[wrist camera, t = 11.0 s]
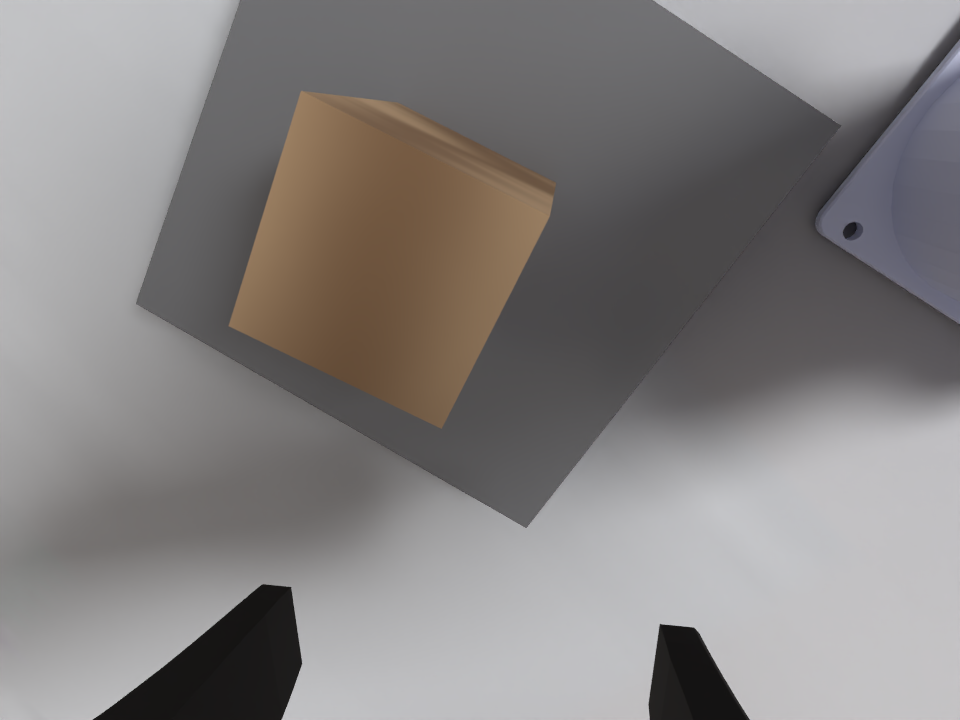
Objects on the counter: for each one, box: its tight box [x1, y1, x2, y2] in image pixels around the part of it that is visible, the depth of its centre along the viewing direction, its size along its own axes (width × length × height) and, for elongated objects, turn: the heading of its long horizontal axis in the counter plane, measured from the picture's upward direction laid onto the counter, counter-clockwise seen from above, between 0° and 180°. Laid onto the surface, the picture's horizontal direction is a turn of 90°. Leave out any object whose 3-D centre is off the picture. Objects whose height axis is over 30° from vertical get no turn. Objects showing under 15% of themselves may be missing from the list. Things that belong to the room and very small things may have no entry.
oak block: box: [229, 91, 556, 429], centre depth 13 cm, size 4×4×6 cm
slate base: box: [136, 0, 841, 528], centre depth 18 cm, size 14×14×3 cm
